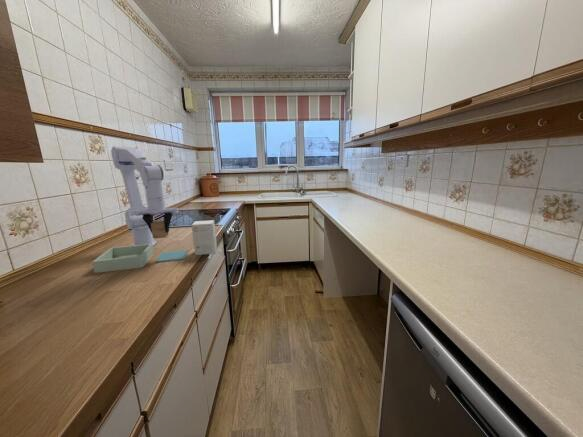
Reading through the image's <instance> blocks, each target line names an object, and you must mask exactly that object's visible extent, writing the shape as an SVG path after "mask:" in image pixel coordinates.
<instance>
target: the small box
mask: <svg viewBox="0 0 583 437" xmlns="http://www.w3.org/2000/svg"><path fill="white" fill-rule="evenodd" d="M191 230H192V232H191V233H192V239H193V248H194V255H195V256H200V255H201V256H202V255H214V254H216V251H217V249H218V244H217V234H216V224H215V220H214V219H212V220H211V219H210V220H195V221H194V222H193V223H192V224H191Z"/></svg>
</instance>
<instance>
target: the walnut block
mask: <svg viewBox="0 0 583 437" xmlns="http://www.w3.org/2000/svg"><path fill="white" fill-rule="evenodd" d="M151 229H152V235H153V239H154V240H155V239H164V238H167V237H168V236H169V232H166V229H165V222H164V219H162V220H161V219H160V220H159V219H158V220H154V221H153V222H152V223H151Z"/></svg>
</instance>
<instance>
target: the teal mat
mask: <svg viewBox="0 0 583 437" xmlns="http://www.w3.org/2000/svg"><path fill="white" fill-rule="evenodd" d="M187 254H188V249H182V250H179V249H178V250H171V251H161V253H160V254H159V256H158V257H157V259H155V263H163V262H170V261H171V262H172V261H180V260H185V258H186V256H187Z"/></svg>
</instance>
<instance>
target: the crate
mask: <svg viewBox="0 0 583 437" xmlns="http://www.w3.org/2000/svg"><path fill="white" fill-rule="evenodd" d="M154 254H155V252H154V246H153V244H146V245H135V244H134V245H127V246H125V245H124V246H115V247H110V248H109V249H107V250H106V251H105V252H104V253H102V254H101V255H99V256H98V257H97V258H95V259H94V260H92V261H91V263H92V266H93V273H95V274H98V273H105V272H114V271H122V270H123V271H124V270H131V269H139V268H140V269H141V268H142V269H143V267H144V266H145V265H146V264H147V263H148V262H149V260H150V259H151V257H152V256H153V255H154Z"/></svg>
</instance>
